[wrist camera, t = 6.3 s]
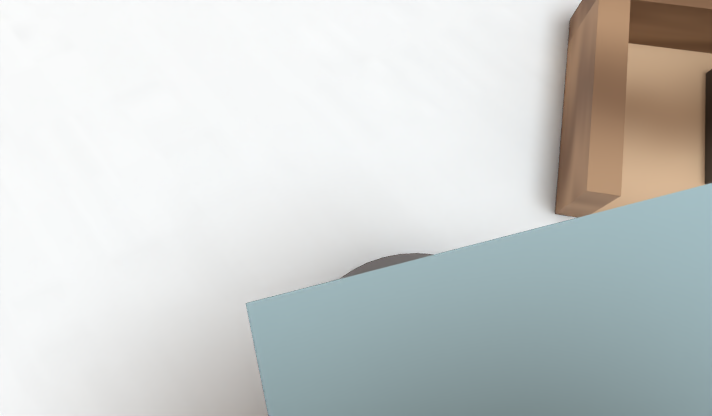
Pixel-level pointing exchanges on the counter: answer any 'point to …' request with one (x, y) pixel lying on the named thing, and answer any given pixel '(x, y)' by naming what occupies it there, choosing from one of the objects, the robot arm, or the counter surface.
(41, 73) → the counter surface
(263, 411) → the counter surface
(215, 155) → the counter surface
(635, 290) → the block
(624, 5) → the open-sided box
